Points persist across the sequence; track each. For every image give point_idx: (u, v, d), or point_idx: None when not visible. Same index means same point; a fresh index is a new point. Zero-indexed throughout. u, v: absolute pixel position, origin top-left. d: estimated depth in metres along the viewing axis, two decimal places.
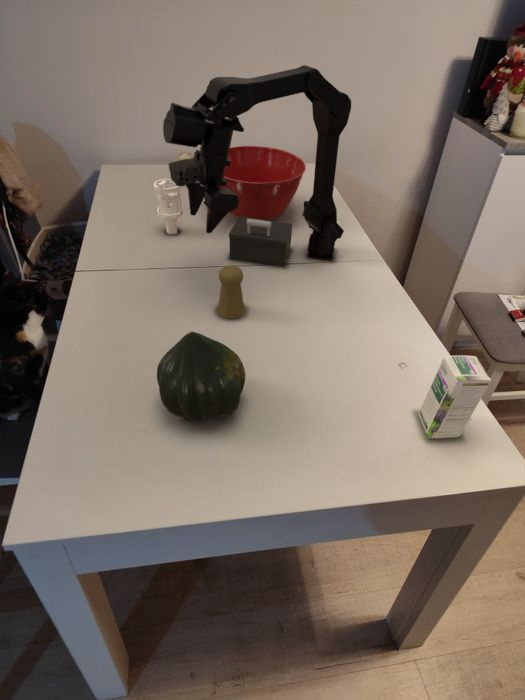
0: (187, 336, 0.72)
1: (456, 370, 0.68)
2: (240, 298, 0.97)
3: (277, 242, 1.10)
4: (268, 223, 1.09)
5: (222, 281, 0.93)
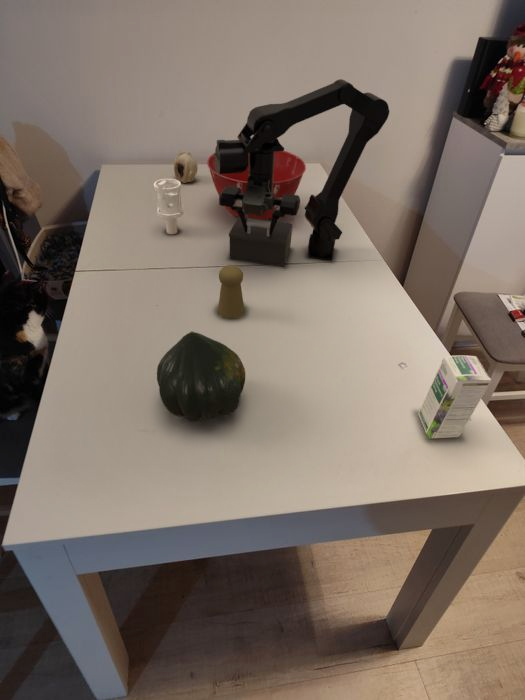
0: (187, 336, 0.72)
1: (456, 370, 0.68)
2: (240, 298, 0.97)
3: (277, 242, 1.10)
4: (268, 223, 1.09)
5: (222, 281, 0.93)
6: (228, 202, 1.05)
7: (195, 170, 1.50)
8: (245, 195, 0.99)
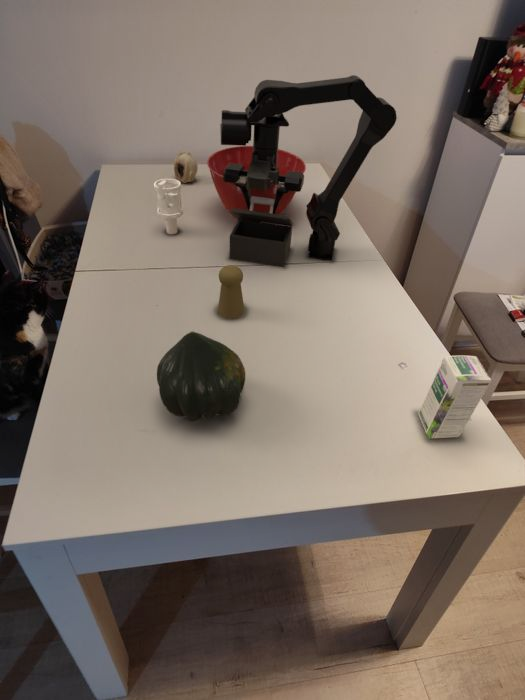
0: (187, 336, 0.72)
1: (456, 370, 0.68)
2: (240, 298, 0.97)
3: (280, 216, 1.08)
4: (272, 199, 1.09)
5: (222, 281, 0.93)
6: (232, 178, 1.04)
7: (195, 170, 1.50)
8: (250, 169, 0.99)
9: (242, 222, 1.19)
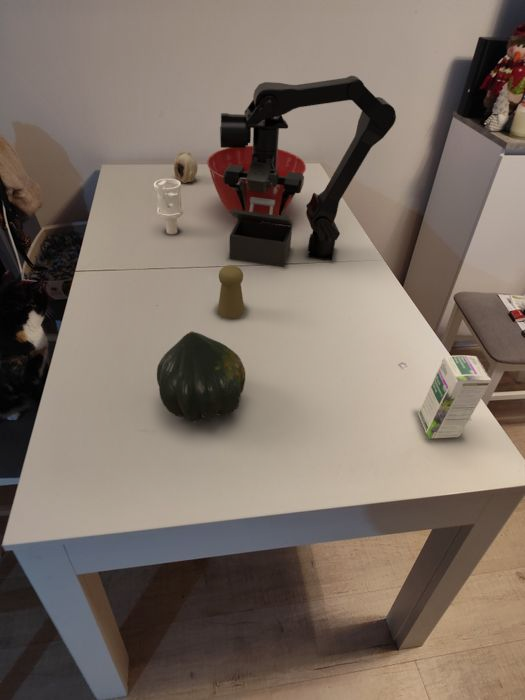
0: (187, 336, 0.72)
1: (456, 370, 0.68)
2: (240, 298, 0.97)
3: (280, 217, 1.08)
4: (272, 200, 1.09)
5: (222, 281, 0.93)
6: (232, 180, 1.05)
7: (195, 170, 1.50)
8: (249, 172, 0.99)
9: (242, 222, 1.19)
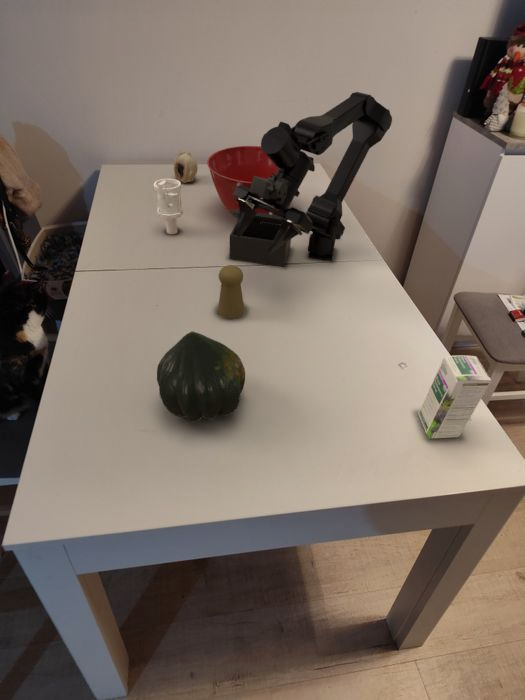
0: (187, 336, 0.72)
1: (456, 370, 0.68)
2: (240, 298, 0.97)
3: (280, 217, 1.08)
4: None
5: (222, 281, 0.93)
6: (241, 192, 0.96)
7: (195, 170, 1.50)
8: (260, 177, 0.91)
9: None
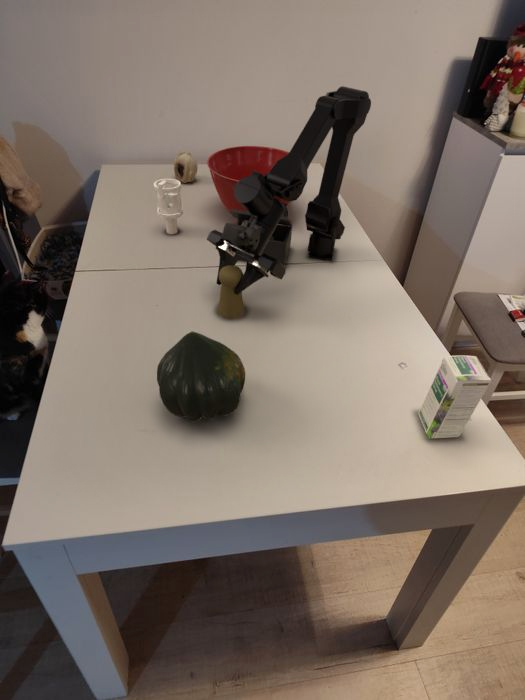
0: (187, 336, 0.72)
1: (456, 370, 0.68)
2: (240, 298, 0.97)
3: None
4: None
5: (222, 281, 0.93)
6: (215, 237, 0.95)
7: (195, 170, 1.50)
8: (232, 224, 0.90)
9: (242, 222, 1.19)
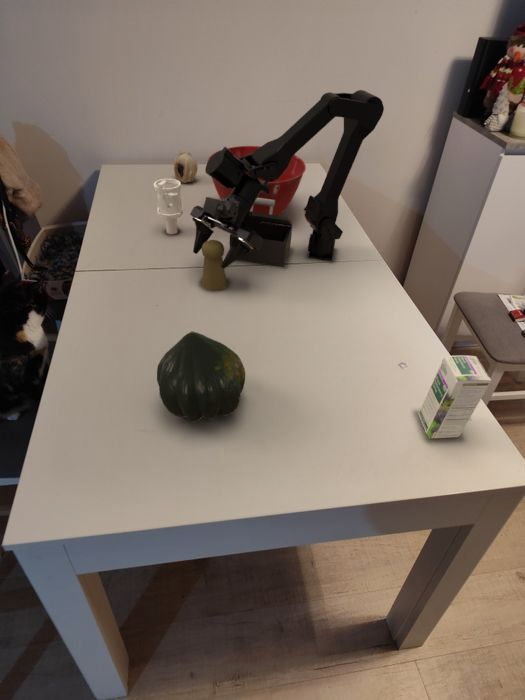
0: (187, 336, 0.72)
1: (456, 370, 0.68)
2: (222, 270, 1.05)
3: (280, 217, 1.08)
4: (272, 200, 1.09)
5: (204, 254, 1.01)
6: (198, 212, 1.03)
7: (195, 170, 1.50)
8: (213, 198, 0.98)
9: None
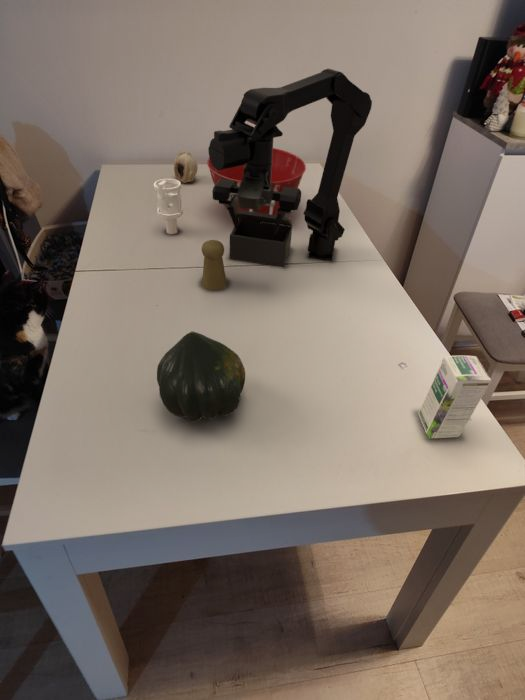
0: (187, 336, 0.72)
1: (456, 370, 0.68)
2: (222, 270, 1.05)
3: None
4: (272, 200, 1.09)
5: (204, 254, 1.01)
6: (222, 196, 0.95)
7: (195, 170, 1.50)
8: (241, 188, 0.90)
9: (242, 222, 1.19)
